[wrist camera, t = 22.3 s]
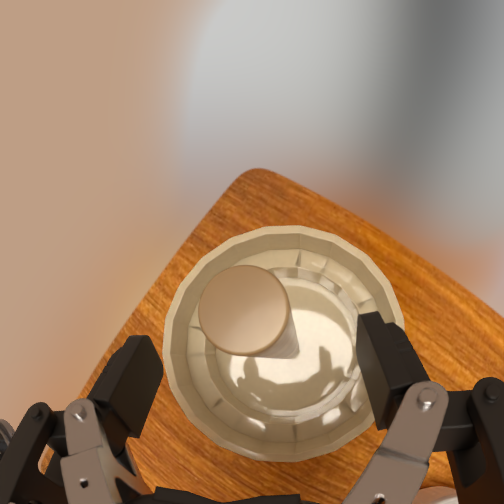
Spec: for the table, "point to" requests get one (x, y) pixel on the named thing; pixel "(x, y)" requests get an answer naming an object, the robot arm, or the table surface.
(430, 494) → the ramekin
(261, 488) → the table surface
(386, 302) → the bowl
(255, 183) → the table surface
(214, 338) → the stick
